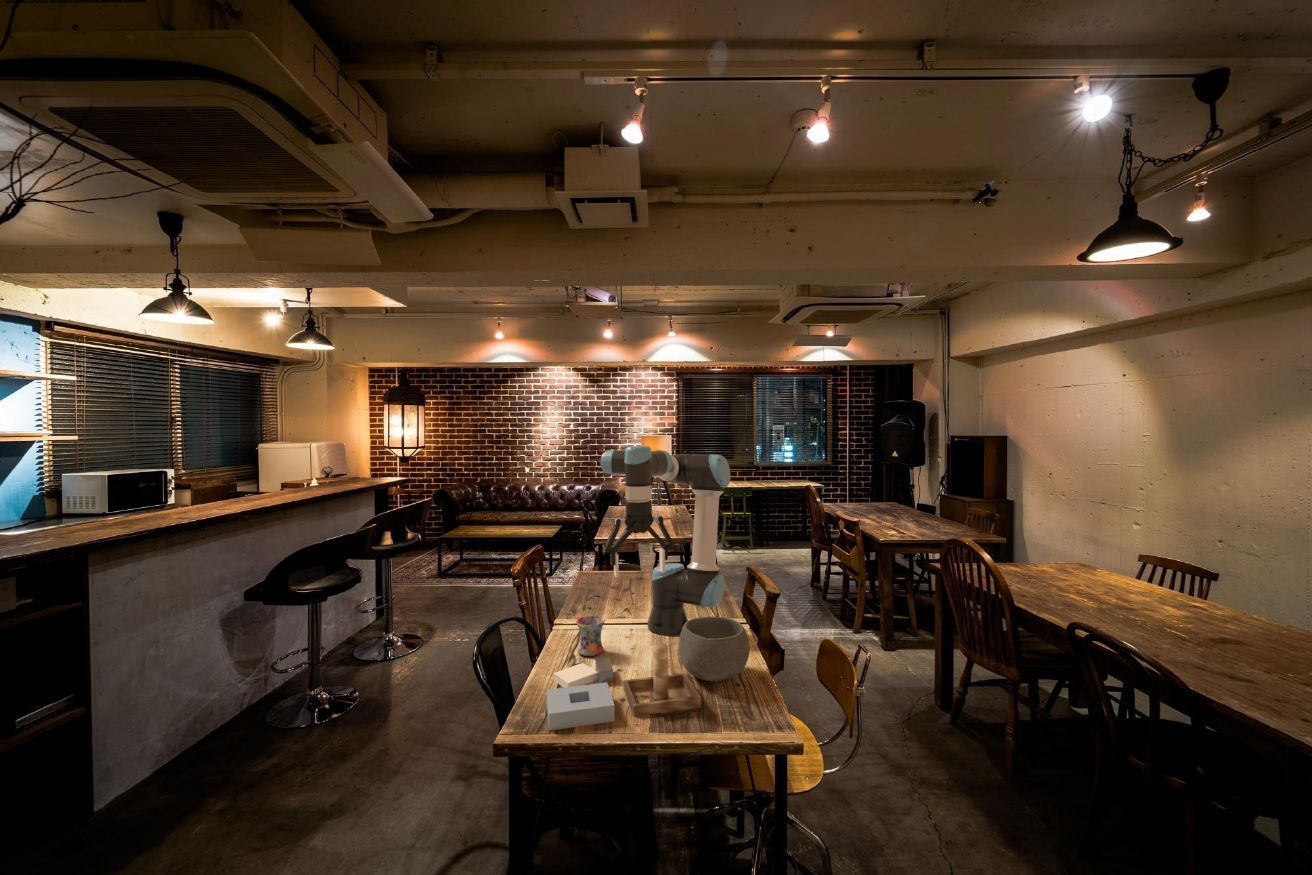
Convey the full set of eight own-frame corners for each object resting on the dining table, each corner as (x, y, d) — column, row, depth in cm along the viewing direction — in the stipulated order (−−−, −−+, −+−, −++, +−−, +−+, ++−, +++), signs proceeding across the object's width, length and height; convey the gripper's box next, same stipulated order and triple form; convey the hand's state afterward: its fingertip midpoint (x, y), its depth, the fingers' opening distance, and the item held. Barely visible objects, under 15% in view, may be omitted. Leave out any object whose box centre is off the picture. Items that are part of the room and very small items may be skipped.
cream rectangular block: (582, 674, 157) (582, 662, 157) (598, 684, 151) (598, 672, 151) (553, 684, 150) (553, 672, 150) (568, 695, 144) (568, 683, 144)
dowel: (666, 693, 143) (666, 643, 142) (670, 701, 139) (669, 649, 139) (652, 695, 142) (651, 644, 142) (655, 703, 138) (655, 650, 138)
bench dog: (608, 672, 157) (608, 657, 157) (613, 685, 149) (613, 669, 149) (595, 674, 156) (595, 659, 156) (599, 686, 148) (599, 671, 148)
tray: (684, 684, 149) (684, 672, 149) (700, 710, 136) (700, 697, 136) (623, 692, 145) (623, 680, 145) (633, 719, 131) (633, 706, 131)
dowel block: (607, 700, 141) (607, 682, 141) (614, 724, 129) (614, 704, 129) (546, 708, 137) (546, 689, 137) (548, 734, 125) (548, 713, 125)
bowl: (751, 664, 162) (751, 616, 162) (747, 697, 142) (747, 643, 142) (685, 657, 167) (684, 611, 167) (672, 689, 147) (672, 636, 147)
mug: (600, 659, 166) (600, 626, 166) (572, 657, 168) (572, 624, 167) (609, 644, 178) (609, 613, 178) (583, 642, 179) (583, 611, 179)
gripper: (675, 495, 155) (676, 566, 156) (593, 500, 148) (594, 574, 149) (684, 499, 148) (685, 573, 149) (597, 504, 141) (598, 582, 142)
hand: (639, 573), depth 149 cm, fingers open, 13 cm apart
